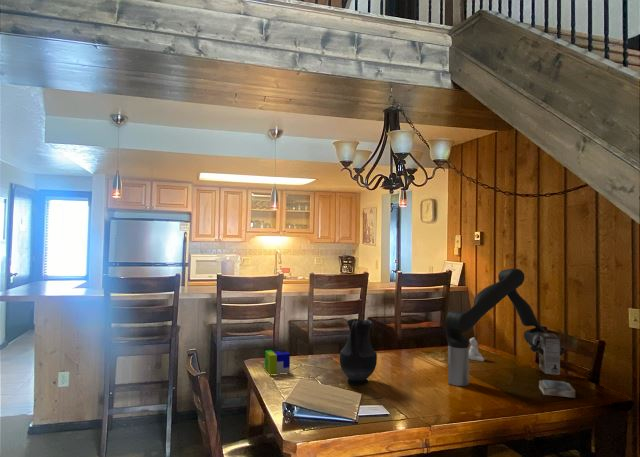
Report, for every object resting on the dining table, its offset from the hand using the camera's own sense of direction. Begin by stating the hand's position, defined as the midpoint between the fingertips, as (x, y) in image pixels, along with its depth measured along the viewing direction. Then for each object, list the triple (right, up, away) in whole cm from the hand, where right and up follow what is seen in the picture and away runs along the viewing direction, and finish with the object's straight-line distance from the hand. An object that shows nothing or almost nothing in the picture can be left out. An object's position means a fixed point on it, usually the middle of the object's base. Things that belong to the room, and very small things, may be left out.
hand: (551, 352), depth 187 cm
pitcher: (-83, -18, +12) cm, 86 cm away
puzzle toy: (-122, -18, +29) cm, 127 cm away
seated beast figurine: (-14, -19, +53) cm, 59 cm away
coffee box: (+1, -9, +3) cm, 10 cm away
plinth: (+3, -18, +2) cm, 18 cm away
